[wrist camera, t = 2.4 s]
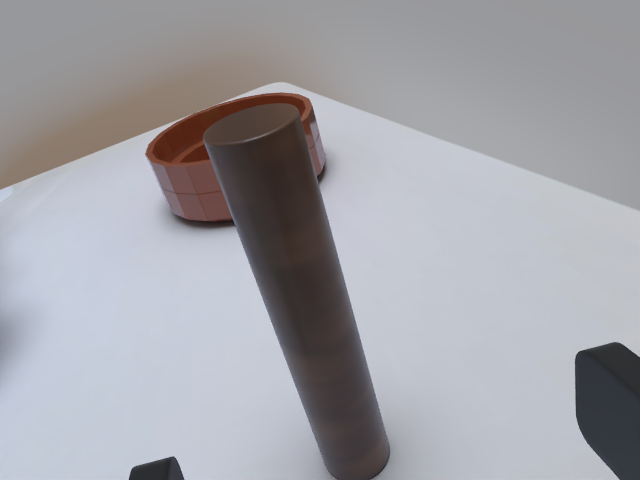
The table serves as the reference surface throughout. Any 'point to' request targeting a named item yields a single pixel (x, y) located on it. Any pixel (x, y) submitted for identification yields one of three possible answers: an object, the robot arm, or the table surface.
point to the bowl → (194, 162)
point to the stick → (300, 280)
